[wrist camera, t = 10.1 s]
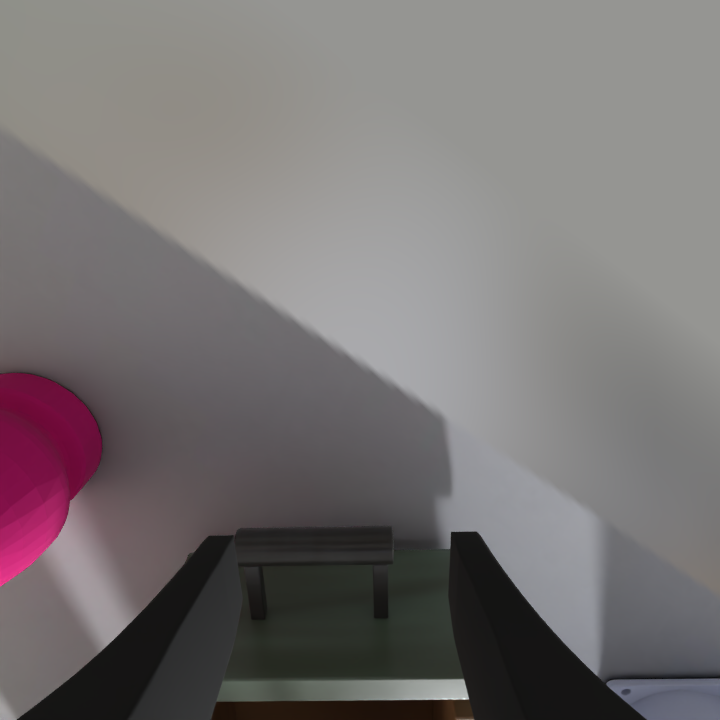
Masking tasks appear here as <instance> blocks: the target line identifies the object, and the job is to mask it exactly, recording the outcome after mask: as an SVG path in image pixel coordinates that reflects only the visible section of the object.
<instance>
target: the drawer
mask: <svg viewBox="0 0 720 720" xmlns="http://www.w3.org/2000/svg"><path fill="white" fill-rule="evenodd" d="M234 542H235V549H236V556H237V562H238V569H239V576H240V583H241V590H242V597H243V600H242V606H241V612H240V617H239V623H238V628H237V633H236V638H235V642H234V646H233V649H232V652H231V656H230V659H229V662H228V665H227V669H226V672H225V675H224V678H223V682H222V685H221V688H220V691H219V695H218V698H217V701H216V704H215V707H214V711H213V714H212V717H211V720H474V717H473V713H472V709H471V705H470V701H469V697H468V693H467V689H466V685H465V681H464V677H463V673H462V669H461V665H460V661H459V657H458V653H457V649H456V645H455V640H454V635H453V628H452V621H451V614H450V606H449V599H448V588H449V567H450V549H434V550H394V544H393V528H392V526H351V527H288V528H240V529H238V530H237V533H236V535H235V540H234ZM192 555H193V553H190V554H189V555H188V557H187V560H188V559H189V558H190V557H191V556H192ZM187 560H186V562H187ZM186 562H185V563H186Z"/></svg>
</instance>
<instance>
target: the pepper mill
mask: <svg viewBox="0 0 720 720" xmlns="http://www.w3.org/2000/svg"><path fill="white" fill-rule="evenodd" d="M101 453H102V438H101V435H100V432H99V429H98V426H97V423H96V421H95V419H94V418H93V416H92V415H91V413H90V411H89V410H88V408H87V407H86V406H85V405H84V404H83V403H82V402H81V401H80V400H79V399H78V398H77V397H76V396H75V395H74V394H73V393H71V392H70V391H68V390H67V389H65V388H63V387H62V386H60V385H59V384H57V383H55V382H53V381H51V380H48V379H46V378H43V377H39V376H36V375H32V374H24V373H7V374H0V586H2V585H3V584H5V583H6V582H8V581H9V580H11V579H12V578H13V577H15V576H16V575H18V574H19V573H21V572H22V571H23V570H25V569H26V568H27V567H29V566H30V565H31V564H32V563H33V562H34V561H35V560H36V559H37V558H38V557H39V556H40V555H41V554H42V553H43V552H44V551H45V550H46V549H47V548H48V547H49V546H50V545H51V543H52V542H53V541H54V540H55V539H56V538H57V537H58V535H59V533H60V531H61V529H62V527H63V526H64V524H65V521H66V518H67V515H68V510H69V504H70V501H71V500H72V499H73V498H74V497H75V496H76V495H77V493H78V492H79V491H80V490H81V489H82V488H83V486H84V485H85V484H86V483H87V482H88V481H89V479H90V478H91V477H92V476H93V474H94V473H95V472H96V470H97V468H98V466H99V463H100V460H101Z"/></svg>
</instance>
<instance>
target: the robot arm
mask: <svg viewBox="0 0 720 720" xmlns="http://www.w3.org/2000/svg"><path fill="white" fill-rule="evenodd" d="M448 599H449V606H450V614H451V621H452V628H453V635H454V640H455V645H456V649H457V653H458V657H459V661H460V665H461V669H462V673H463V677H464V681H465V685H466V689H467V693H468V697H469V701H470V705H471V709H472V713H473V717H474V720H720V678H719V679H624V680H611V681H608V682H607V683H606V684H605V683H604V682H603V681H602V680H601V679H600V678H599V677H597V676H596V675H595V674H594V673H593V672H592V671H591V670H590V669H589V668H588V667H587V666H586V665H585V664H584V663H583V662H582V661H581V660H580V659H579V658H578V657H577V656H576V655H575V654H574V653H573V652H572V651H571V650H570V649H569V648H568V647H567V646H566V645H565V644H564V643H563V642H562V641H561V639H560V638H559V637H558V636H557V635H556V634H555V633H554V632H553V631H552V630H551V628H550V627H549V626H548V625H547V624H546V623H545V622H544V620H543V619H542V618H541V617H540V616H539V615H538V613H537V612H536V611H535V610H534V609H533V607H532V606H531V605H530V604H529V603H528V601H527V600H526V599H525V597H524V596H523V595H522V594H521V592H520V591H519V590H518V589H517V587H516V586H515V585H514V583H513V582H512V581H511V579H510V578H509V577H508V575H507V574H506V573H505V571H504V570H503V569H502V567H501V566H500V564H499V563H498V562H497V560H496V559H495V557H494V556H493V554H492V553H491V551H490V550H489V548H488V547H487V545H486V544H485V542H484V540H483V539H482V537H481V536H480V535H479V534H478V533H477V532H451V547H450V567H449V588H448ZM242 600H243V597H242V590H241V583H240V576H239V569H238V562H237V556H236V549H235V542H234V535H229V536H208V537H207V538H206V539H205V540H204V542H203V543H202V544H201V545H200V546H199V547H198V549H197V550H196V551H195V552H194V553H193V555H192V556H191V557H190V558H189V559H188V560H187V562H186V563H185V564H184V565H183V566H182V568H181V569H180V570H179V571H178V572H177V573H176V574H175V576H174V577H173V578H172V579H171V580H170V581H169V582H168V584H167V585H166V586H165V587H164V588H163V589H162V590H161V591H160V592H159V594H158V595H157V596H156V597H155V598H154V599H153V600H152V601H151V602H150V603H149V605H148V606H147V607H146V608H145V609H144V610H143V611H142V612H141V613H140V614H139V615H138V616H137V617H136V618H135V619H134V620H133V621H132V622H131V623H130V624H129V625H128V626H127V627H126V628H125V629H124V630H123V631H122V632H121V633H120V634H119V635H118V636H117V637H116V638H115V639H114V640H113V641H112V642H111V643H110V644H109V645H108V646H107V647H105V648H104V649H103V650H102V651H101V652H100V653H99V654H98V655H97V656H96V657H94V658H93V659H92V660H91V661H90V662H89V663H88V664H87V665H85V666H84V667H83V668H82V669H81V670H80V671H79V672H77V673H76V674H75V675H74V676H73V677H71V678H70V679H69V680H68V681H66V682H65V683H64V684H63V685H61V686H60V687H59V688H57V689H56V690H55V691H54V692H52V693H51V694H50V695H48V696H47V697H46V698H45V699H43V700H42V701H41V702H40V703H38V704H37V705H36V706H34V707H33V708H32V709H31V710H29V711H28V712H27V713H25V714H24V715H22V716H21V717H20V718H18V719H17V720H211V717H212V714H213V711H214V707H215V704H216V701H217V698H218V695H219V691H220V688H221V685H222V682H223V678H224V675H225V672H226V669H227V665H228V662H229V659H230V656H231V652H232V649H233V646H234V642H235V638H236V633H237V628H238V623H239V617H240V612H241V606H242Z"/></svg>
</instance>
